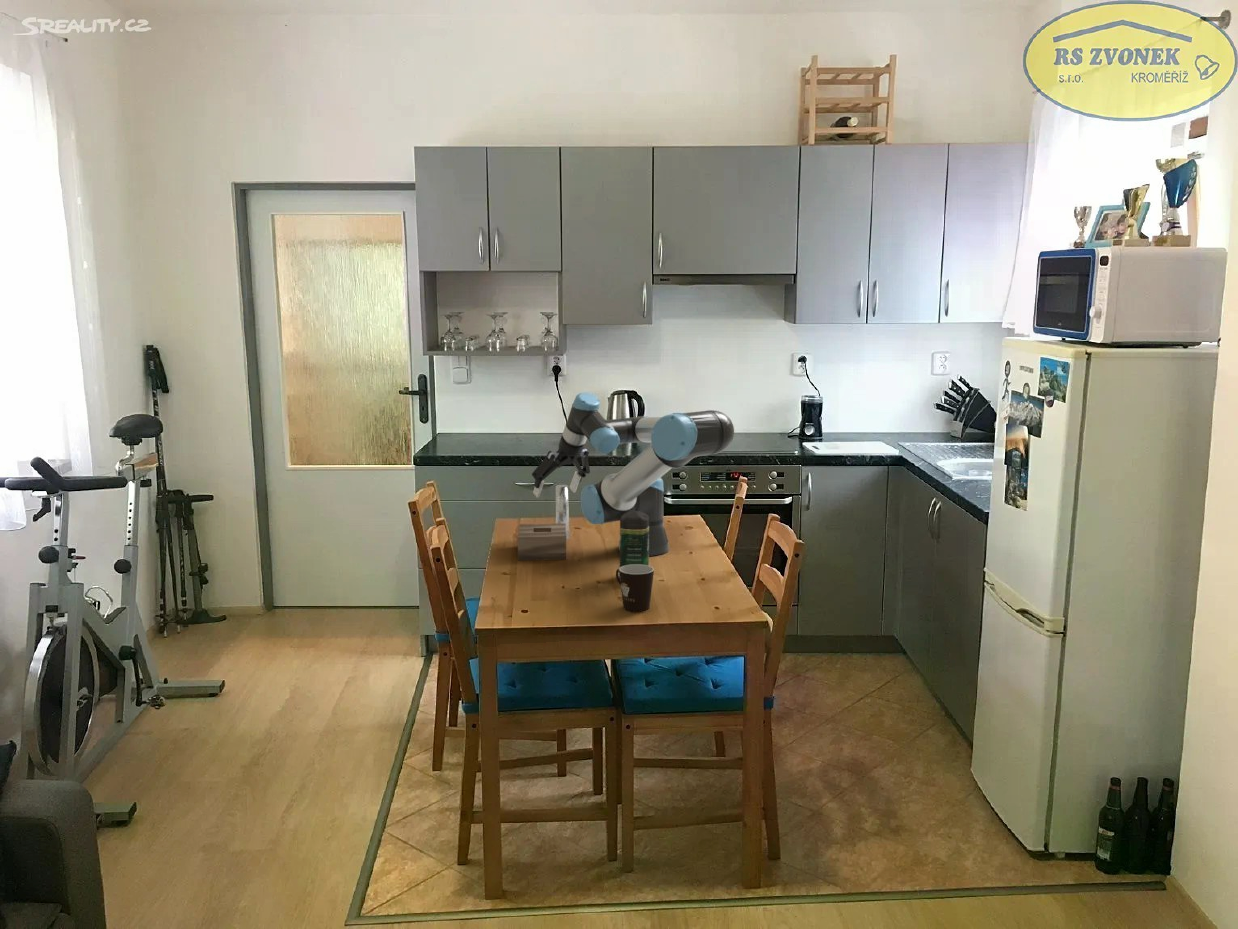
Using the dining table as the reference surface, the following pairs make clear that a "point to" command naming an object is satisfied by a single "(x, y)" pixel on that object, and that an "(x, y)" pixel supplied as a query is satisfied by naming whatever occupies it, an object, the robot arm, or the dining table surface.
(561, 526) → the socket block
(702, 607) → the dining table surface
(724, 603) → the dining table surface
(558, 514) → the steel pin
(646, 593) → the coffee mug
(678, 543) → the dining table surface
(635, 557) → the coffee jar
